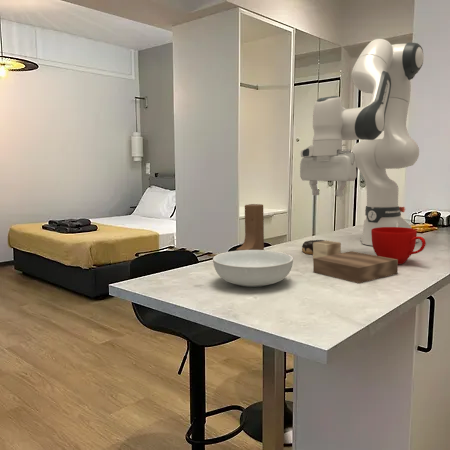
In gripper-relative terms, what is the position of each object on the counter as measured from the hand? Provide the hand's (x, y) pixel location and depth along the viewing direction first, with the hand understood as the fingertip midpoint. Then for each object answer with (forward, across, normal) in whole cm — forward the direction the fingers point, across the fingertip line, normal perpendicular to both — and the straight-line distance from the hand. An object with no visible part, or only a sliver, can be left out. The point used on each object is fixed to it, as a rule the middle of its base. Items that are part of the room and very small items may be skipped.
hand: (326, 195), depth 139 cm
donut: (+21, +12, -9) cm, 26 cm away
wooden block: (+21, +16, +18) cm, 32 cm away
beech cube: (+21, 0, 0) cm, 21 cm away
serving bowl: (+21, -6, +34) cm, 40 cm away
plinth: (+21, -16, +6) cm, 27 cm away
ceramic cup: (+21, -16, -14) cm, 30 cm away
